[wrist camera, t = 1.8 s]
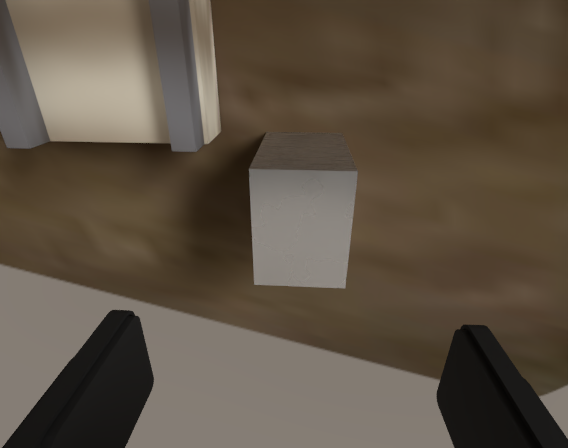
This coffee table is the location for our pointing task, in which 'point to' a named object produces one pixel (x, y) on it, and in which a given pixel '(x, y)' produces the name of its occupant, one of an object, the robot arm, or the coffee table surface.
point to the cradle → (108, 72)
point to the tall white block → (302, 209)
